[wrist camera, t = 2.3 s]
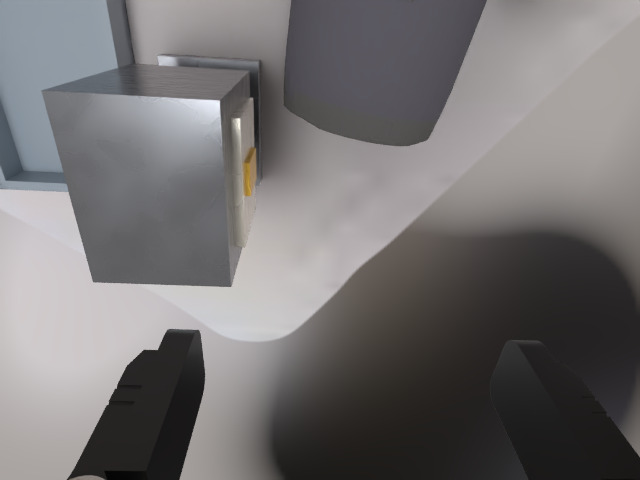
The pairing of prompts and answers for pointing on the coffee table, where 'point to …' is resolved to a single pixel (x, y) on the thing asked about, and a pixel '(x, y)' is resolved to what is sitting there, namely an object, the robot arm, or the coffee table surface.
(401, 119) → the bluetooth speaker
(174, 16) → the coffee table surface
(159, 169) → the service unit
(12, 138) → the service tray
